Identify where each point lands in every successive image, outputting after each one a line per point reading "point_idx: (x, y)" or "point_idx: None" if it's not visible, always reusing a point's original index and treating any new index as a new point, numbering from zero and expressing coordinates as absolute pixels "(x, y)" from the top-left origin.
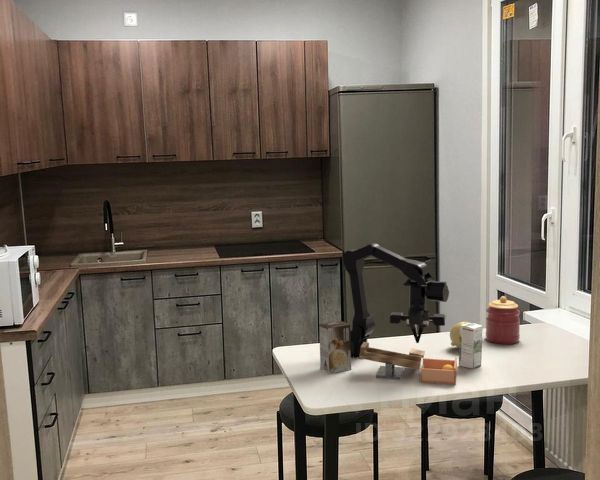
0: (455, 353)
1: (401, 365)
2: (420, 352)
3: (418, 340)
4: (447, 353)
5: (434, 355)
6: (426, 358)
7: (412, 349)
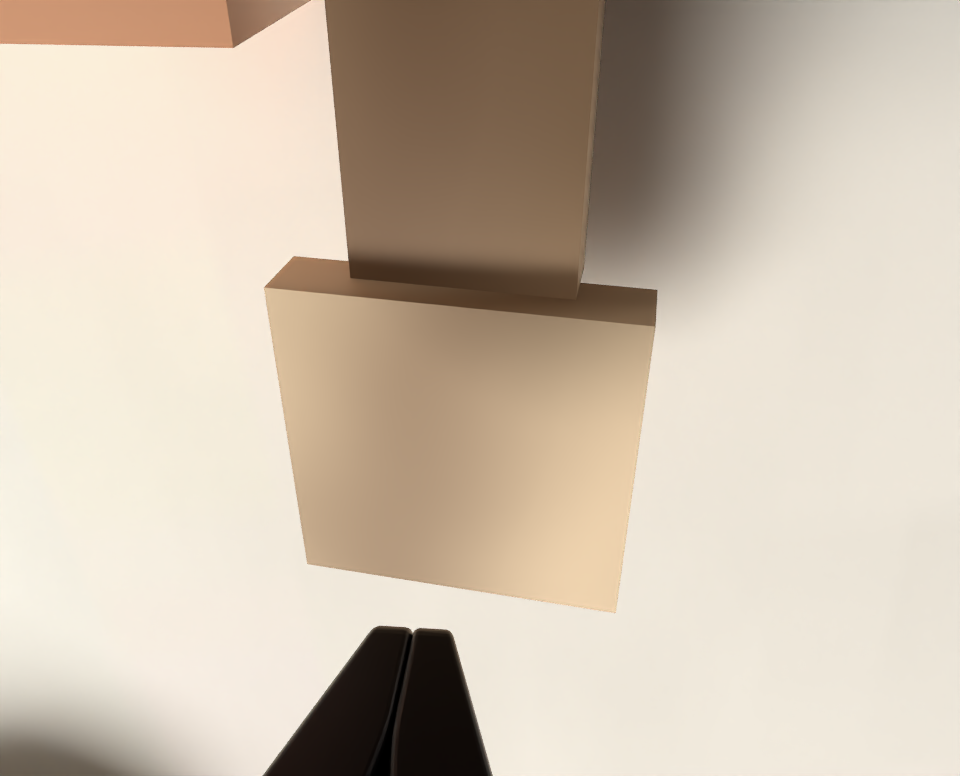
0: (83, 771)
1: None
2: (377, 454)
3: (356, 692)
4: (167, 766)
5: (297, 706)
6: (132, 43)
7: (575, 571)
